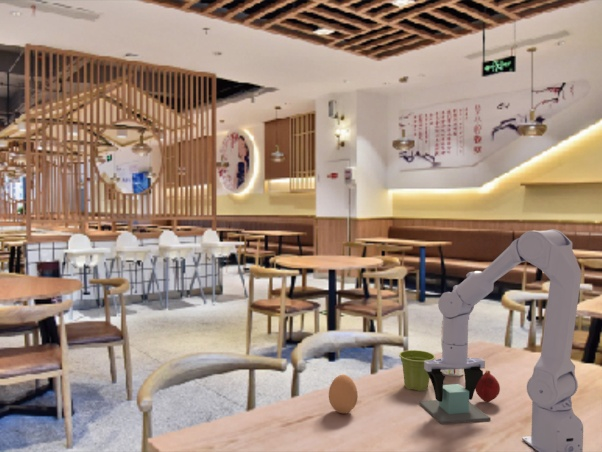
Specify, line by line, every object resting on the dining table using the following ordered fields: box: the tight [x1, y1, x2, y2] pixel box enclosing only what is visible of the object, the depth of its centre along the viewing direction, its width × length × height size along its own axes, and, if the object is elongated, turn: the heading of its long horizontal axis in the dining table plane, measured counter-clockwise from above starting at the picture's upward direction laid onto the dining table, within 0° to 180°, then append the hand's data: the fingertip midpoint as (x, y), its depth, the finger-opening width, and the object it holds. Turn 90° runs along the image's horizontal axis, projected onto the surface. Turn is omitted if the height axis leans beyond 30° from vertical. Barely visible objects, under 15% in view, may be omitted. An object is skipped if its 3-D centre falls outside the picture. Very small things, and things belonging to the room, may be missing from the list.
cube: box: [439, 383, 470, 414], centre depth 124 cm, size 5×5×5 cm
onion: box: [475, 369, 501, 403], centre depth 130 cm, size 6×6×8 cm
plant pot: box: [398, 349, 436, 392], centre depth 140 cm, size 9×9×9 cm
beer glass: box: [440, 320, 464, 377], centre depth 151 cm, size 7×7×15 cm
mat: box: [419, 399, 492, 425], centre depth 124 cm, size 12×12×1 cm
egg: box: [328, 374, 358, 415], centre depth 123 cm, size 7×7×9 cm
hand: (453, 399), depth 124 cm, fingers open, 7 cm apart
